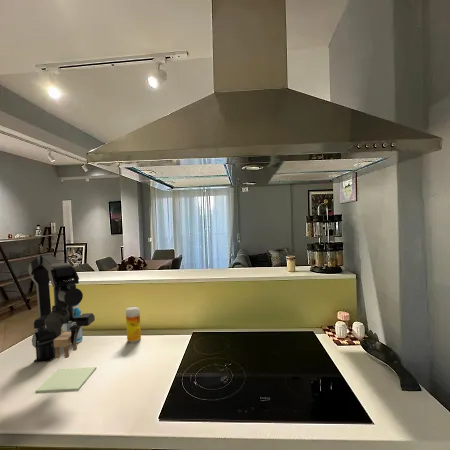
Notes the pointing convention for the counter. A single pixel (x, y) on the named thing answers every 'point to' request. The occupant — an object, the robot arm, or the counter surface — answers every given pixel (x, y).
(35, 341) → the robot arm
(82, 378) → the sage board
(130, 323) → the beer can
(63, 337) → the walnut stool
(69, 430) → the counter surface
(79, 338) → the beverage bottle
